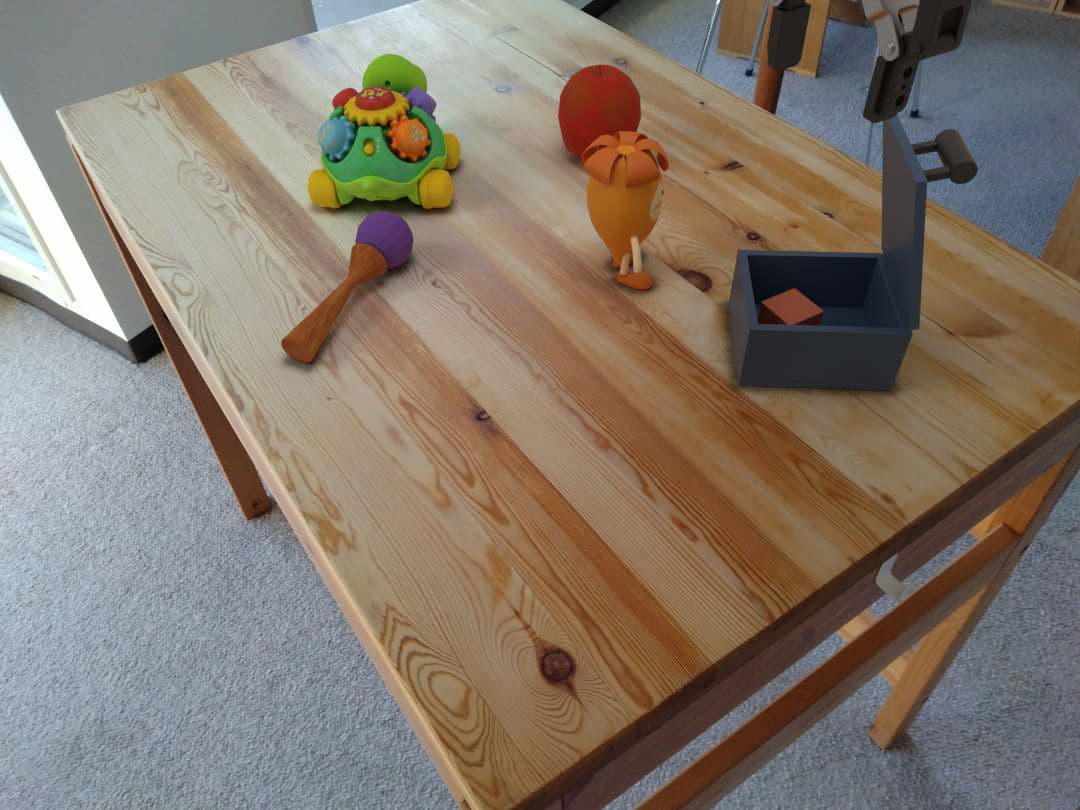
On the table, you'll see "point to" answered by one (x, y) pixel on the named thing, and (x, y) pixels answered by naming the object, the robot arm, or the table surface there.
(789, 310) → the block
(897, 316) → the dark blue box
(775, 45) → the robot arm
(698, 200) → the table surface
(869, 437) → the table surface
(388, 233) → the purple toy maraca
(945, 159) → the lid
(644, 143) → the toy figure
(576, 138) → the apple
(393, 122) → the turtle toy
